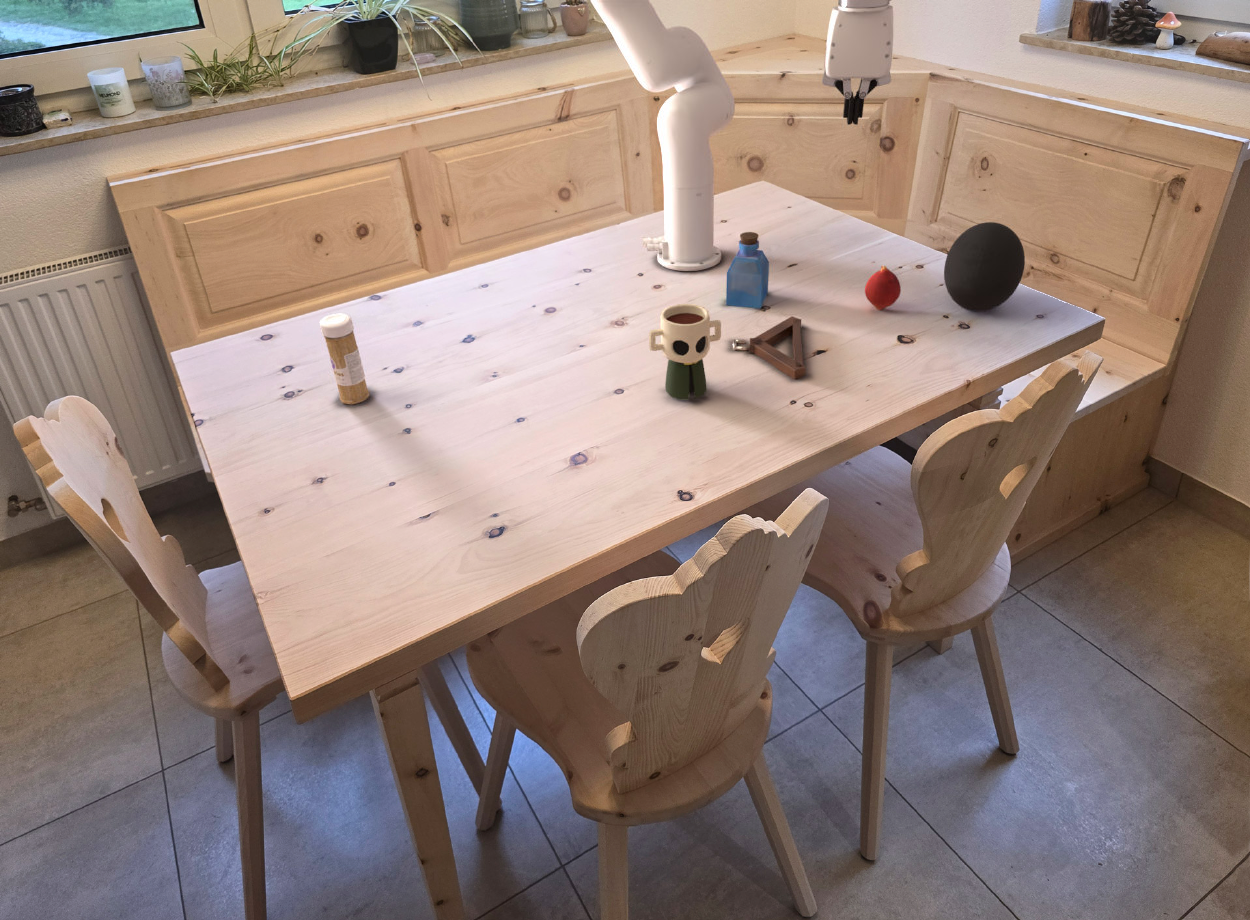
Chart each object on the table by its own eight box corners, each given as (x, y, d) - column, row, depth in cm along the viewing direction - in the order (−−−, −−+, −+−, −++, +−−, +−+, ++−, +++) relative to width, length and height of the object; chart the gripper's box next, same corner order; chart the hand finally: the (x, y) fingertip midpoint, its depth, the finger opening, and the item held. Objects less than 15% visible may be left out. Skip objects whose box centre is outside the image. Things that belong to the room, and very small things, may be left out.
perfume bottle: (767, 294, 162) (770, 230, 155) (760, 308, 157) (763, 243, 150) (734, 290, 163) (735, 227, 157) (726, 305, 159) (727, 240, 152)
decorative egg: (969, 287, 160) (984, 205, 151) (1029, 310, 151) (1049, 225, 143) (922, 306, 154) (935, 222, 146) (982, 331, 146) (1000, 244, 137)
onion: (894, 302, 156) (900, 259, 152) (899, 316, 152) (906, 272, 147) (861, 302, 157) (865, 259, 152) (865, 316, 152) (870, 272, 148)
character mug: (657, 410, 131) (654, 330, 124) (645, 386, 137) (641, 309, 129) (728, 397, 133) (729, 318, 125) (712, 375, 139) (713, 298, 131)
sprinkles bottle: (334, 399, 138) (312, 321, 130) (358, 387, 141) (338, 309, 133) (352, 408, 136) (331, 329, 128) (376, 396, 138) (357, 317, 131)
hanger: (731, 378, 138) (731, 369, 137) (734, 324, 153) (734, 315, 152) (805, 379, 136) (805, 370, 135) (800, 324, 151) (801, 316, 150)
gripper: (911, -8, 137) (896, 115, 148) (813, -5, 140) (805, 117, 150) (917, 0, 131) (901, 128, 142) (814, 3, 133) (806, 129, 144)
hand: (852, 122), depth 146 cm, fingers closed
